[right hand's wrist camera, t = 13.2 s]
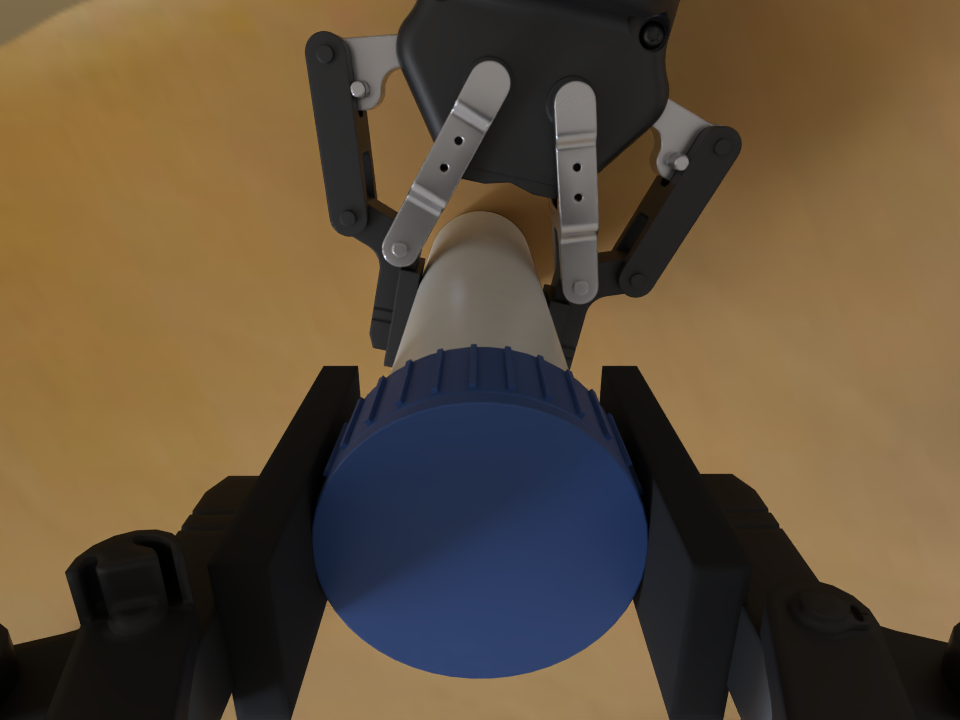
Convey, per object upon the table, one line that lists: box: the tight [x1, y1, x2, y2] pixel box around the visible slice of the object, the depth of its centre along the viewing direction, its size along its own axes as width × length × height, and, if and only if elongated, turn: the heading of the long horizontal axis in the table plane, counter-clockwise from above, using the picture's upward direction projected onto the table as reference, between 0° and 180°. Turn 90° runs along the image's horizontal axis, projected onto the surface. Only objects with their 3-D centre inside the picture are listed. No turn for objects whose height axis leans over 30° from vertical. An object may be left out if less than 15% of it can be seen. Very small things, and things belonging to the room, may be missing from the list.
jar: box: [390, 211, 569, 375], centre depth 20 cm, size 4×4×20 cm
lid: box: [312, 344, 649, 678], centre depth 11 cm, size 6×6×2 cm
